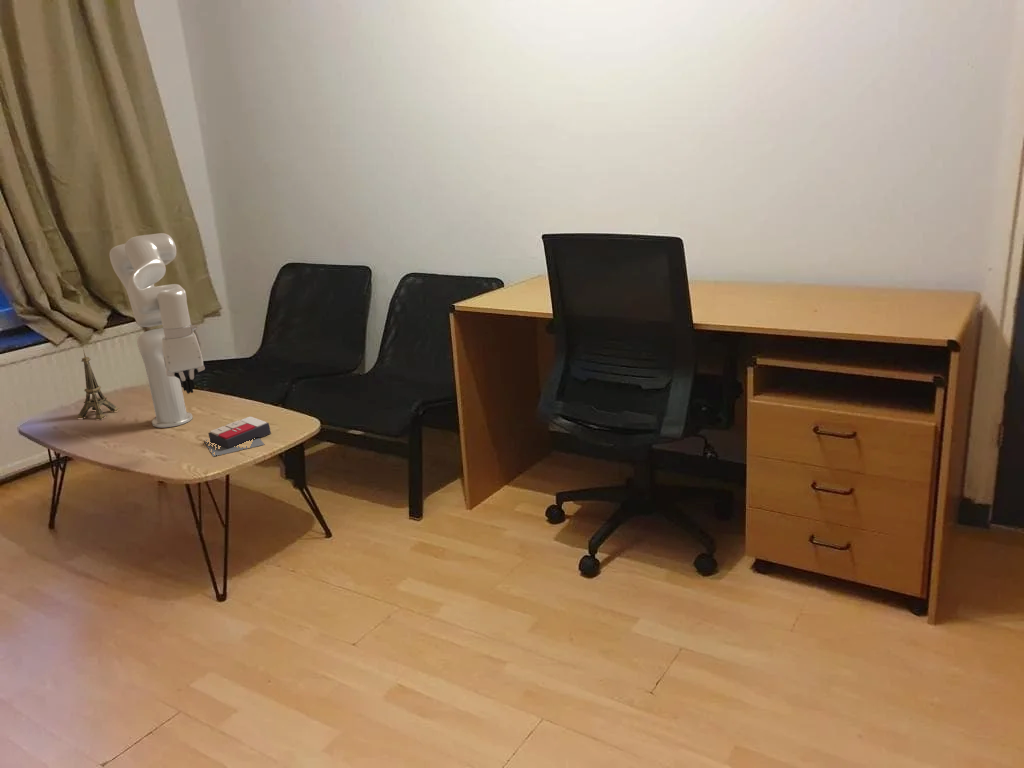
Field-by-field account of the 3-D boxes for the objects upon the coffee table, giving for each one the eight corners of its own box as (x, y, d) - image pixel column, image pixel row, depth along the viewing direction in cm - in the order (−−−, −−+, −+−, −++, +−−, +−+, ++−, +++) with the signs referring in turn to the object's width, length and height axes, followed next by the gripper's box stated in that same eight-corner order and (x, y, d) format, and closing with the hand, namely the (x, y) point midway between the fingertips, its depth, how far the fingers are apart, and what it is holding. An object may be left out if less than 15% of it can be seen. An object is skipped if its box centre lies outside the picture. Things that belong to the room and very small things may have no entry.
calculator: (207, 430, 247) (250, 414, 257) (210, 443, 249) (253, 426, 259) (224, 438, 240) (268, 420, 250) (228, 451, 241) (271, 433, 251)
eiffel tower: (96, 409, 287) (80, 342, 280) (121, 409, 285) (106, 342, 278) (75, 420, 278) (58, 350, 270) (101, 420, 275) (85, 350, 268)
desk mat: (203, 440, 250) (203, 440, 250) (252, 429, 257) (252, 429, 257) (213, 456, 236) (213, 456, 236) (264, 444, 243) (264, 444, 243)
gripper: (202, 325, 238) (213, 383, 244) (148, 333, 231) (161, 394, 237) (207, 330, 232) (218, 390, 237) (152, 339, 225) (164, 400, 231)
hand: (189, 391), depth 237 cm, fingers closed
